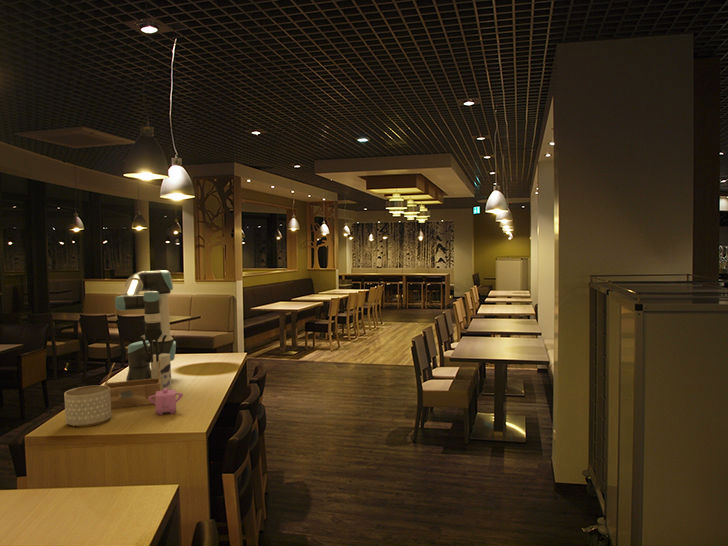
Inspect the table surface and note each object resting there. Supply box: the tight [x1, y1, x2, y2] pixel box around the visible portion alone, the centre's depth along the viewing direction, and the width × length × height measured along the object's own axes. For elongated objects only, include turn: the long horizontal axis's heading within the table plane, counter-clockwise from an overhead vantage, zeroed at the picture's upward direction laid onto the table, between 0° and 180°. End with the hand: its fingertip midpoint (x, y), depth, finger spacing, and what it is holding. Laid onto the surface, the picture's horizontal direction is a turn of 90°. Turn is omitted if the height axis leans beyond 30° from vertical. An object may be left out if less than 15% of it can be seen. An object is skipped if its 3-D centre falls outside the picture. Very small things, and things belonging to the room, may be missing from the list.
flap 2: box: [158, 357, 161, 381], centre depth 294 cm, size 12×1×10 cm, turn 18°
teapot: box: [148, 388, 184, 416], centre depth 272 cm, size 15×13×11 cm
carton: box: [105, 378, 161, 410], centre depth 290 cm, size 16×26×10 cm, turn 108°
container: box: [150, 353, 173, 391], centre depth 312 cm, size 10×10×20 cm
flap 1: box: [103, 362, 116, 386], centre depth 287 cm, size 12×1×10 cm, turn 18°
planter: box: [63, 384, 112, 427], centre depth 261 cm, size 19×19×14 cm
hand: (155, 368), depth 293 cm, fingers closed
